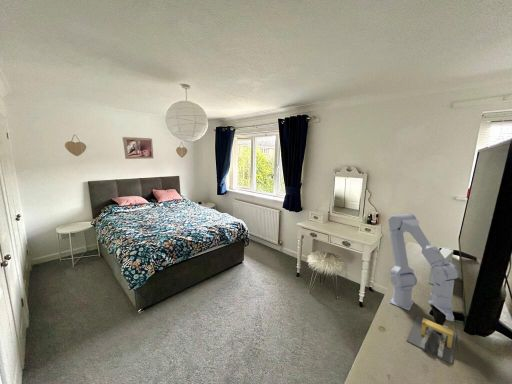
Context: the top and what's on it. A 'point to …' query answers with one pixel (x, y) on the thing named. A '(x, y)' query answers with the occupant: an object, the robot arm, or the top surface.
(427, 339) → the tong arm
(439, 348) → the tongs fixed
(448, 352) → the mat
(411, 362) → the top surface
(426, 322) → the yellow arch block
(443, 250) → the skincare box
